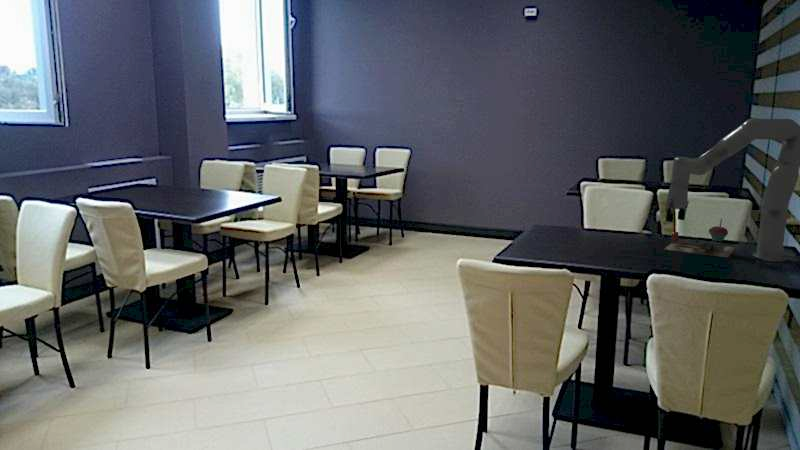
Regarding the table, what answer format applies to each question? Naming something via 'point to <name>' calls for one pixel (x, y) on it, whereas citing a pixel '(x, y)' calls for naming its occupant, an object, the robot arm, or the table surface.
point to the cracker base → (690, 249)
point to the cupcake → (718, 233)
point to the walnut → (706, 247)
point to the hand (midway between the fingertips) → (675, 220)
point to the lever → (676, 241)
